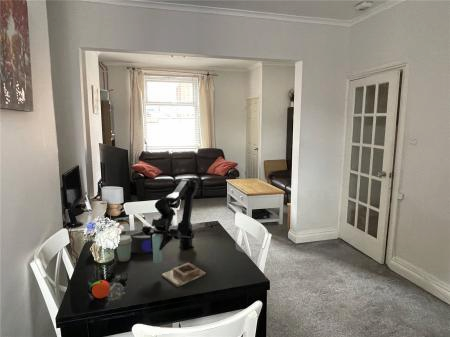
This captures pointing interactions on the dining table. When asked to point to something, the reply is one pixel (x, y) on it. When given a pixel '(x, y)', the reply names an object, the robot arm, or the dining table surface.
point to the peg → (156, 248)
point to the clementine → (100, 289)
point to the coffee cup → (124, 248)
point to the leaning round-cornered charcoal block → (141, 244)
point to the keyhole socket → (183, 274)
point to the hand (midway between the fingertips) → (155, 249)
